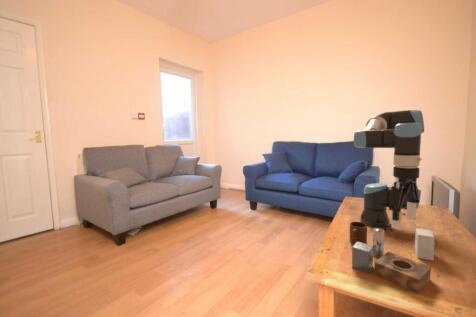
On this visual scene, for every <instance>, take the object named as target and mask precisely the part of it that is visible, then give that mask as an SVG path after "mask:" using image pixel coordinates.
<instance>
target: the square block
mask: <svg viewBox="0 0 476 317" xmlns="http://www.w3.org/2000/svg"><path fill="white" fill-rule="evenodd" d="M351 249H352V252H351V254H352V255H351V265H352V266H351V268H352V269H354V270H357V271H360V272H363V273H365V274H368V275H369V273H370V272H371V271H372V269H373V266H374V256H373V245H370V244H368V243H367V244H364V243H361V242H356V243H355V245H354V244H353V246H351Z"/></svg>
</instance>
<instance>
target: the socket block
mask: <svg viewBox="0 0 476 317" xmlns="http://www.w3.org/2000/svg"><path fill="white" fill-rule="evenodd" d="M373 266H374V270H373V272H374V275H375V276H378V277H380V278H381V279H382V278H383V279H385V280H386V281H389V282H392V283H394V284H396V285H398V286H400V287H402V288H405V289H407V290H410V291H411V292H414V293H416V294H420V292H421V291H422V290H423V288H425V287H426V286H427V284H428V283H429V281H431V272H432V271H431V269H432V267H431V266H430V265H427V264H424V263H421V262H418V261H416V260H413V259H410V258H407V257H405V256H401V255H398V254H396V253H393V252H390V251H387V252H386V253H384V255H383V256H382V257H380V258H378V259H376V260H375V261H374V265H373Z"/></svg>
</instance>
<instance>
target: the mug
mask: <svg viewBox="0 0 476 317" xmlns="http://www.w3.org/2000/svg"><path fill="white" fill-rule="evenodd" d="M349 242H350V243H351V244H352V245H353V246H354V245H355V243H356V242H361V243H364V244H368V225H366V224H364V223H362V222H361V221H352V222H350V223H349Z"/></svg>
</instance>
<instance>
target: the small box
mask: <svg viewBox="0 0 476 317" xmlns="http://www.w3.org/2000/svg"><path fill="white" fill-rule="evenodd" d="M414 251H415V252H414V253H415V255H416V258H418V259H420V260H426V261H434V260H435V259H434V258H435V236H434V233H433V232H432V230H431V229H425V228H419V227H417V228H415V236H414Z"/></svg>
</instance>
